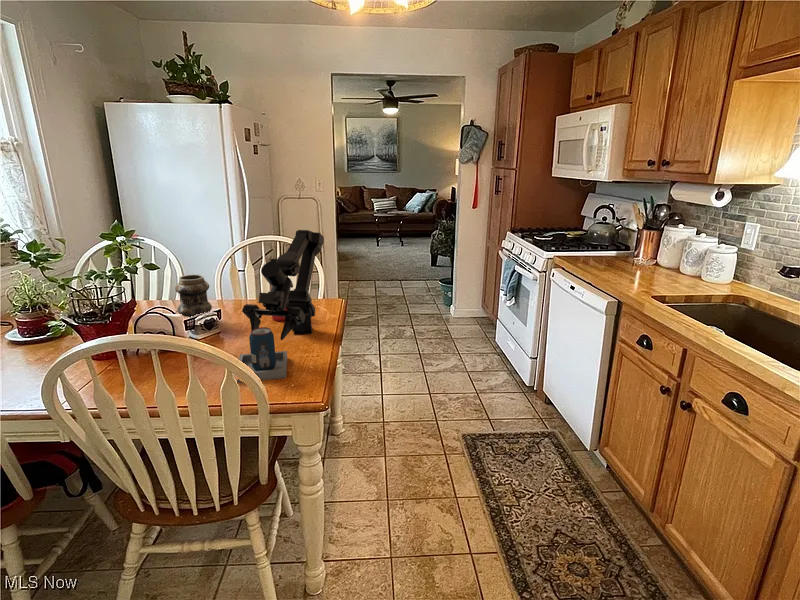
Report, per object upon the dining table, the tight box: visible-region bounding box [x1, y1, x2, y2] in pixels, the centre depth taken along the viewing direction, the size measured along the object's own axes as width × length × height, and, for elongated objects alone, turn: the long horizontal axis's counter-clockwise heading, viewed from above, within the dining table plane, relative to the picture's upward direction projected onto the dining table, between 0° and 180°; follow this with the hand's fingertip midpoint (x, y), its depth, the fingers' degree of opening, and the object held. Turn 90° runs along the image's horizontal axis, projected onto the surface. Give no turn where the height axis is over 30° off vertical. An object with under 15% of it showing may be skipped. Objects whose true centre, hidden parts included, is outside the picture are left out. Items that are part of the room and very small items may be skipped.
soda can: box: [248, 326, 276, 371], centre depth 134 cm, size 7×7×12 cm
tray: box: [237, 350, 288, 383], centre depth 135 cm, size 14×14×2 cm
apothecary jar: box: [174, 274, 213, 318], centre depth 172 cm, size 12×12×18 cm
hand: (267, 338), depth 137 cm, fingers open, 9 cm apart
